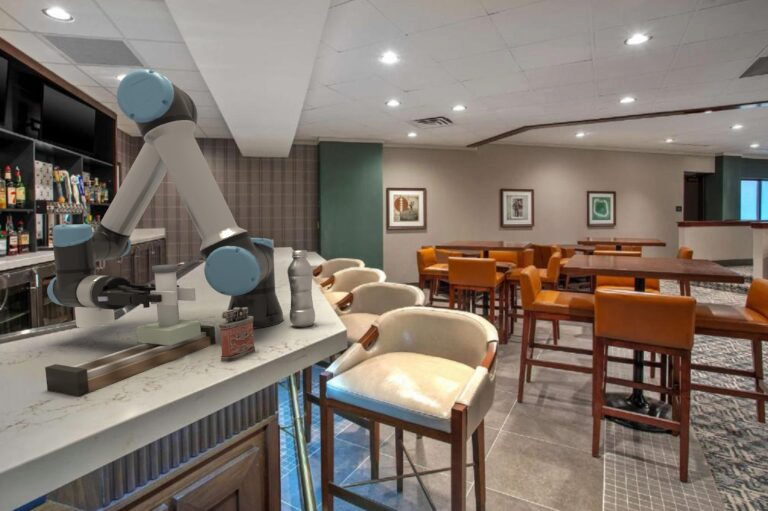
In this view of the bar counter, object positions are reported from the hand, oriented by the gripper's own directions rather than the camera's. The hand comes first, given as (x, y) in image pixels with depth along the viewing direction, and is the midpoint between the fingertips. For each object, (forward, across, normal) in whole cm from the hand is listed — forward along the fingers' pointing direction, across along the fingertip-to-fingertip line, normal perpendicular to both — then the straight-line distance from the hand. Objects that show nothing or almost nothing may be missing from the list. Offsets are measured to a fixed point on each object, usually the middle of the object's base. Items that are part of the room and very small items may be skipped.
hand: (184, 296), depth 85 cm
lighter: (+10, -3, -13) cm, 17 cm away
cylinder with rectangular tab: (-49, -14, -13) cm, 53 cm away
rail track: (-5, +6, -12) cm, 15 cm away
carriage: (-5, 0, -9) cm, 10 cm away
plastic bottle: (+10, -28, -13) cm, 32 cm away
